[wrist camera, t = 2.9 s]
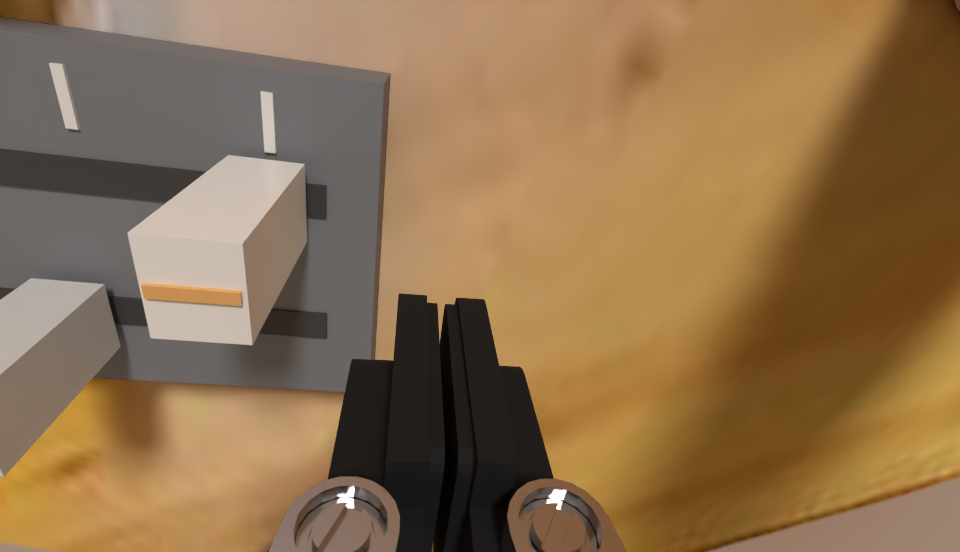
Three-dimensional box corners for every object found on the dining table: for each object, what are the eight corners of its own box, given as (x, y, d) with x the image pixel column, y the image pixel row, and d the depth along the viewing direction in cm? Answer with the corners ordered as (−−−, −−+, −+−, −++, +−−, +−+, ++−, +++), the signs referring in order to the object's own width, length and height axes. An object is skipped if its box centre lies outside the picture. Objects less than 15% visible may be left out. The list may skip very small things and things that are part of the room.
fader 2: (304, 163, 14) (240, 245, 9) (306, 241, 15) (250, 348, 10) (228, 154, 13) (124, 235, 9) (236, 235, 14) (148, 341, 10)
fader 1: (104, 284, 15) (-36, 405, 11) (120, 346, 16) (0, 480, 12) (31, 278, 15) (-145, 400, 10) (53, 342, 16) (-96, 477, 11)
